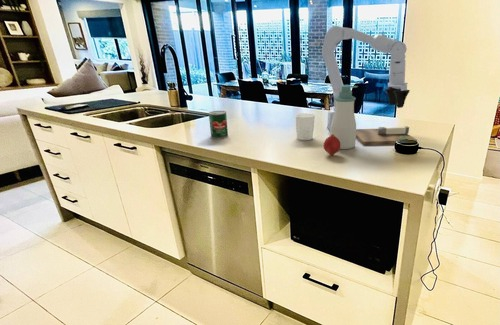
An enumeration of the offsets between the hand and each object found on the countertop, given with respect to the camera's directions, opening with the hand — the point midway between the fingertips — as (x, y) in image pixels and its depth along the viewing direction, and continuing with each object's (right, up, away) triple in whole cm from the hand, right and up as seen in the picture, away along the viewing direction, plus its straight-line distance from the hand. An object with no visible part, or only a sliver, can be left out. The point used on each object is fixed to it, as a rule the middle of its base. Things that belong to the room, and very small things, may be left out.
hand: (396, 106), depth 126 cm
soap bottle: (-26, -18, -10) cm, 33 cm away
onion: (-33, -22, -19) cm, 43 cm away
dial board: (-8, -14, -3) cm, 16 cm away
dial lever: (-3, -12, -4) cm, 13 cm away
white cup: (-39, -14, +2) cm, 41 cm away
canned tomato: (-76, -12, +11) cm, 78 cm away
